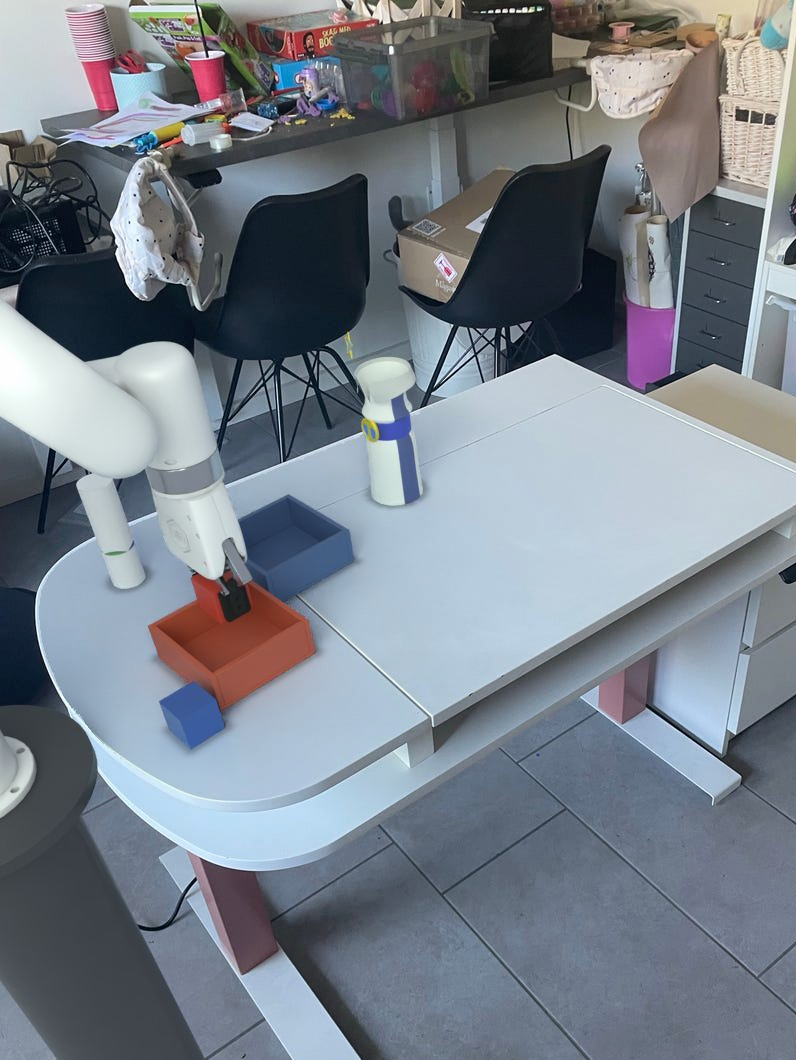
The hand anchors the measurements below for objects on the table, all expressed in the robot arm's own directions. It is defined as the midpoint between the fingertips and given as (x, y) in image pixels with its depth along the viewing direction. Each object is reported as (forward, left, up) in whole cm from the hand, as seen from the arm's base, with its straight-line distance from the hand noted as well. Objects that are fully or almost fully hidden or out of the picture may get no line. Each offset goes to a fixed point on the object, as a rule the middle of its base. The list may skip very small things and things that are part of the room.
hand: (225, 604), depth 108 cm
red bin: (0, 0, -8) cm, 8 cm away
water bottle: (+37, +13, -8) cm, 40 cm away
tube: (-1, +24, -8) cm, 25 cm away
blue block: (-10, -7, -8) cm, 15 cm away
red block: (0, 0, 0) cm, 0 cm away
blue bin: (+15, +11, -8) cm, 20 cm away
